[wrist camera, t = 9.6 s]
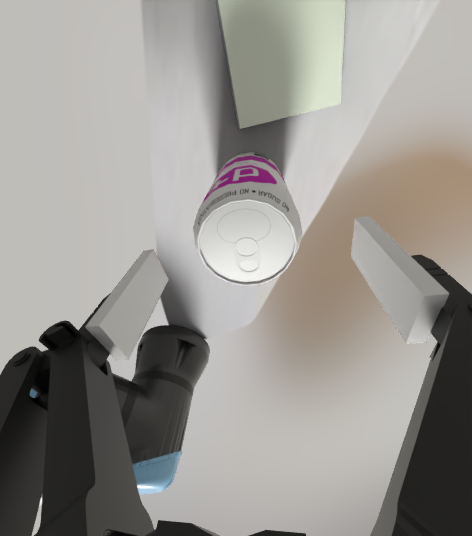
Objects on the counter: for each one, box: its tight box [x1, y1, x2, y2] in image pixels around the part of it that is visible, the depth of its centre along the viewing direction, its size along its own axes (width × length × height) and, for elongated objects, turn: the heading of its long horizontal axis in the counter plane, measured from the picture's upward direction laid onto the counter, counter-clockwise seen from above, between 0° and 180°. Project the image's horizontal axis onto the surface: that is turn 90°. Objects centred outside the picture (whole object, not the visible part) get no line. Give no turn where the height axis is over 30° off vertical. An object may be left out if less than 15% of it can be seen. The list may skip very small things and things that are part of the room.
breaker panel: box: [216, 0, 345, 129], centre depth 18 cm, size 10×14×4 cm
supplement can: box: [193, 152, 302, 286], centre depth 22 cm, size 8×8×15 cm
